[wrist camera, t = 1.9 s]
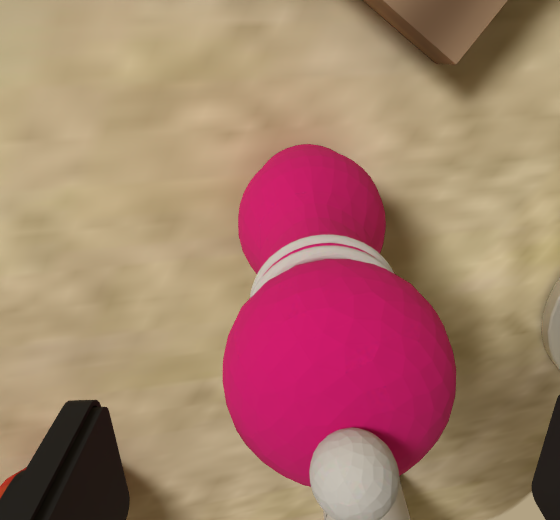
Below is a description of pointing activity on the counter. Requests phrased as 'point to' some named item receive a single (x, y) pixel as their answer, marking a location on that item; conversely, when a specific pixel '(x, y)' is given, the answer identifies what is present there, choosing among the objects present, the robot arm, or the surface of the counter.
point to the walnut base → (439, 23)
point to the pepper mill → (332, 339)
